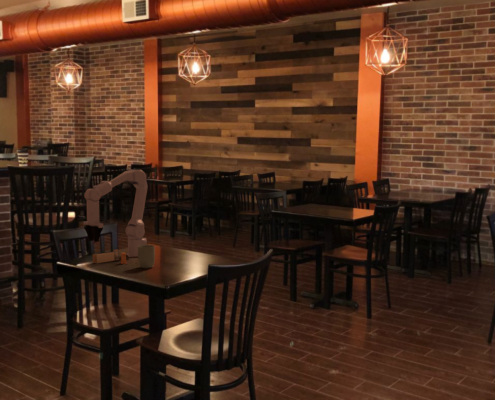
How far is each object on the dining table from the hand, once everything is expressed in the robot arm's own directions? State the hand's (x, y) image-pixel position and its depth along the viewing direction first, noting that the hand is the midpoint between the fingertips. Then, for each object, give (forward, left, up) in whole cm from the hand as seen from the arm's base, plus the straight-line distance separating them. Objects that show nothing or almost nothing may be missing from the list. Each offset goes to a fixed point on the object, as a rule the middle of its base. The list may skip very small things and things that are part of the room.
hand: (93, 241), depth 286 cm
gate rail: (-4, +3, -10) cm, 11 cm away
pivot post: (-10, 0, -10) cm, 14 cm away
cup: (-20, +25, -10) cm, 34 cm away
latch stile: (-12, +11, -10) cm, 19 cm away
